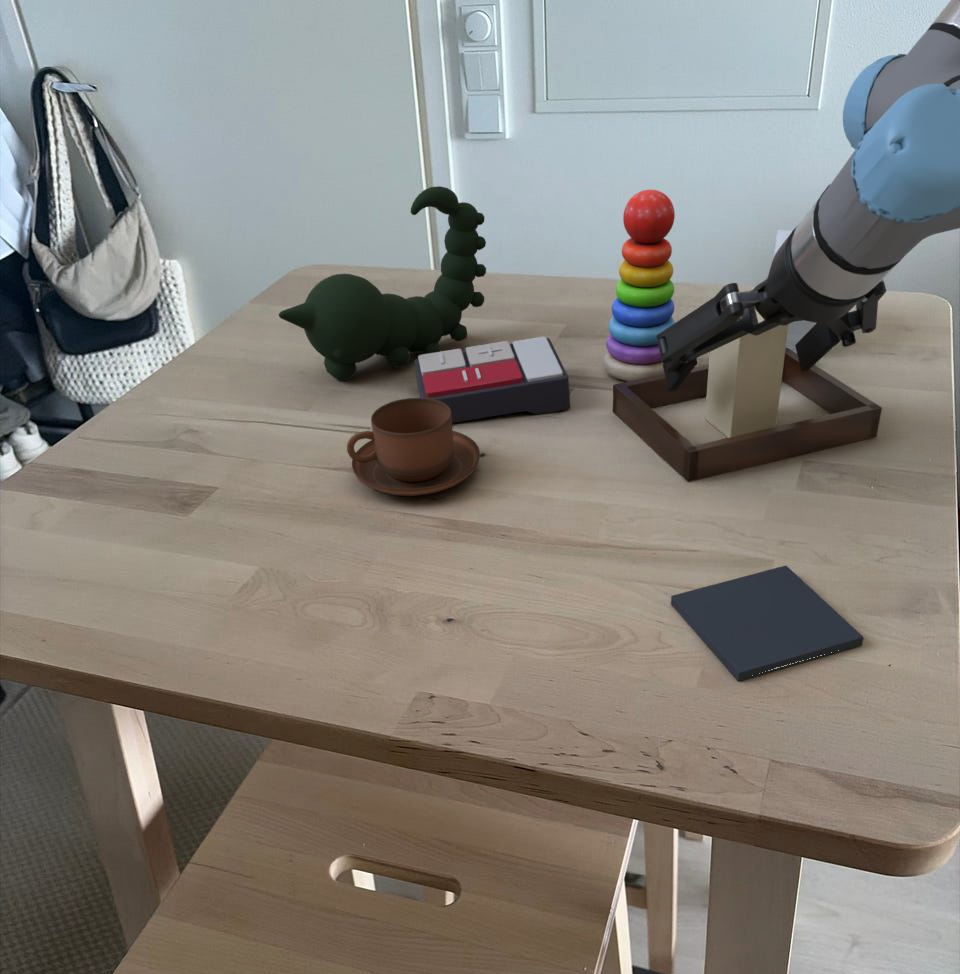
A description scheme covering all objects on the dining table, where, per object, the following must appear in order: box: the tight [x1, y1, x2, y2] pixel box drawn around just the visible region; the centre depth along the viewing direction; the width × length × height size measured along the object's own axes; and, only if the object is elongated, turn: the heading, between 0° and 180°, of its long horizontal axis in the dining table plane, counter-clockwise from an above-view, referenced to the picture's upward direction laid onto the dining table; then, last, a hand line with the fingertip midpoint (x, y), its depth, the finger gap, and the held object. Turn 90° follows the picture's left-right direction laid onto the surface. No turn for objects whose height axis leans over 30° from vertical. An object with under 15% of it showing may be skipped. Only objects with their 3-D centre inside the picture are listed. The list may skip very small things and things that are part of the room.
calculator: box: [413, 336, 571, 424], centre depth 109 cm, size 11×4×15 cm
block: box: [704, 309, 789, 438], centre depth 98 cm, size 5×5×11 cm
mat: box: [670, 565, 864, 682], centre depth 76 cm, size 10×10×1 cm
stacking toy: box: [603, 189, 676, 382], centre depth 107 cm, size 8×8×19 cm
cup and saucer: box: [346, 397, 481, 497], centre depth 95 cm, size 12×12×6 cm
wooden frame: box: [612, 348, 883, 483], centre depth 100 cm, size 20×16×3 cm
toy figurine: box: [278, 185, 487, 381], centre depth 113 cm, size 9×19×25 cm
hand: (735, 367), depth 99 cm, fingers open, 13 cm apart
